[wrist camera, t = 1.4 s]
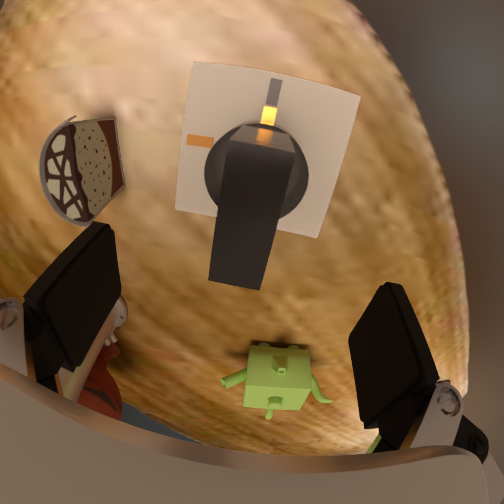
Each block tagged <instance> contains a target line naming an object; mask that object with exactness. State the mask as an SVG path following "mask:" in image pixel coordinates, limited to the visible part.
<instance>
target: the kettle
mask: <svg viewBox="0 0 504 504" xmlns="http://www.w3.org/2000/svg"><path fill="white" fill-rule="evenodd" d="M244 380H245V389H244V398H243V406H244V407H253V408H264V409H266V415H265V418H266V419H271V418H272V415H273V411H274V409H280V410H300V408H301V406H302V405H303V403H304V401H305V400H306V398H307V396H308V394H309V392H310V391H312V393H313V395H314V397H315V398H316V399H317V400H318V401H319V402H322V403H331V402H333V401H332V400H330V399H328V398H326V397H325V396H324V395H323V394H322V392H321V390H320V387H319V385H318V382H317V380H316V378H315V377H314V375H313V374H311V365H310V352H309V350H306V349H299V347H298V346H297V345H290V346H288V347H287V348H278V347H270V345H269V344H268V343H265V342H262V343H259V344H258V346H256V345H250V348H249V355H248V363H247V368H245V369H243V370H240V371H238V372H236V373H233V374H231V375H229V376H226V377H224V378H221V383H222V385H223V386H224V388H225V389H227V388H229V387H231V386H233V385H235V384H238V383H240V382H242V381H244Z"/></svg>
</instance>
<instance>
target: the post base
mask: <svg viewBox="0 0 504 504" xmlns="http://www.w3.org/2000/svg"><path fill="white" fill-rule="evenodd" d="M360 98H361V96H358V95H355V94H352V93H350V92H347V91H344V90H340V89H337V88H334V87H331V86H328V85H324V84H321V83H317V82H314V81H310V80H306V79H302V78H298V77H294V76H289V75H285V74H280V73H276V72H271V71H265V70H260V69H254V68H248V67H241V66H234V65H225V64H216V63H205V62H193V66H192V71H191V77H190V82H189V88H188V95H187V101H186V107H185V114H184V122H183V129H182V137H181V146H180V155H179V164H178V175H177V187H176V200H175V210H180V211H185V212H191V213H196V214H201V215H207V216H212V217H217V210H218V206H217V205H216V204H215V203H214V202H213V200H212V199H211V197H210V195H209V193H208V191H207V188H206V185H205V180H204V167H205V162H206V159H207V156H208V154H209V152H210V150H211V148H212V147H213V145H214V144H215V143H216V142H217V141H218V140H219V139H220V138H221V137H222V136H223V135H224V134H226V133H227V132H228V131H229V130H231V129H232V128H234V127H235V126H237V125H239V124H242V123H245V122H249V121H261V118H262V114H263V109H264V106H269V107H274V108H277V112H276V116H275V121H274V124H277V125H279V126H281V127H283V128H284V129H286V130H287V131H288V132H289V133H290V134H291V135H292V136H293V137H294V138H295V139H296V141H297V142H298V144H299V146H300V148H301V150H302V152H303V154H304V156H305V158H306V161H307V165H308V171H309V179H308V186H307V189H306V192H305V195H304V197H303V198H302V200H301V202H300V203H299V204H298V206H297V207H296V208H295V209H294V210H293V211H291V212H290V213H289V214H287V215H286V216H284V217H282V218H280V219H279V221H278V224H277V228H276V230H281V231H286V232H291V233H295V234H300V235H305V236H309V237H314V238H318V235H319V233H320V230H321V227H322V224H323V221H324V218H325V215H326V212H327V209H328V206H329V203H330V200H331V197H332V194H333V191H334V188H335V185H336V182H337V178H338V175H339V172H340V169H341V165H342V162H343V159H344V156H345V152H346V149H347V145H348V142H349V138H350V135H351V131H352V128H353V124H354V120H355V117H356V113H357V109H358V105H359V102H360Z"/></svg>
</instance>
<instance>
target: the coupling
mask: <svg viewBox="0 0 504 504" xmlns="http://www.w3.org/2000/svg"><path fill="white" fill-rule="evenodd" d="M276 112H277V108H274V107H269V106H264V109H263V114H262V118H261V121H249V122H245V123H242V124H239V125H237V126H235V127H234V128H232V129H231V130H229V131H228V132H227V133H226V134H224V135H223V136H222V137H221V138H220V139H219V140H218V141H217V142H216V143H215V144H214V145H213V147H212V148H211V150H210V152H209V154H208V156H207V159H206V162H205V167H204V180H205V185H206V188H207V191H208V193H209V195H210V197H211V199H212V200H213V202H214V203H215V204H216V205H217V206H218V210H217V217H216V224H215V231H214V239H213V246H212V254H211V262H210V270H209V278H208V280H209V281H214V282H219V283H224V284H229V285H234V286H239V287H244V288H249V289H254V290H260V287H261V283H262V280H263V276H264V272H265V269H266V265H267V261H268V258H269V254H270V250H271V247H272V243H273V239H274V236H275V232H276V228H277V224H278V221H279V219H280V218H282V217H284V216H286V215H287V214H289V213H290V212H291V211H293V210H294V209H295V208H296V207H297V206H298V204H299V203H300V202H301V200H302V198H303V197H304V195H305V192H306V189H307V186H308V179H309V171H308V165H307V161H306V158H305V156H304V154H303V152H302V150H301V148H300V146H299V144H298V142H297V141H296V139H295V138H294V137H293V136H292V135H291V134H290V133H289V132H288V131H287V130H286V129H284V128H283V127H281V126H279V125H277V124H274V121H275V116H276Z"/></svg>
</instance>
